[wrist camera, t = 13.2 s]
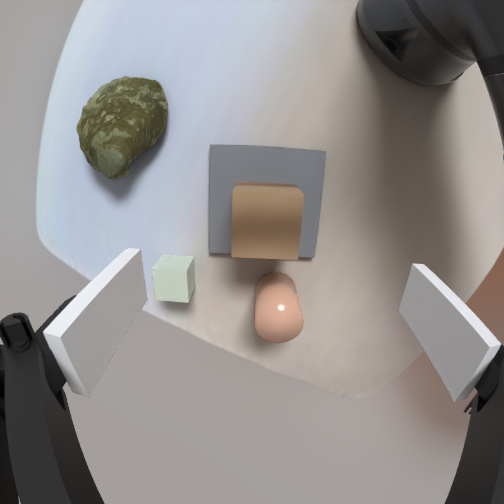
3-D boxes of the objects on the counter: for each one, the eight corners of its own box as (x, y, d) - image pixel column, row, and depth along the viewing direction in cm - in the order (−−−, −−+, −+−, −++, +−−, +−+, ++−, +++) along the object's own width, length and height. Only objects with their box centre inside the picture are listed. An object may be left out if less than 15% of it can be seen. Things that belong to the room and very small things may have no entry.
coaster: (211, 144, 28) (210, 144, 27) (323, 151, 28) (325, 151, 27) (210, 249, 32) (209, 252, 31) (312, 254, 32) (314, 257, 31)
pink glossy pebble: (256, 271, 33) (256, 303, 27) (298, 273, 33) (307, 305, 27) (254, 306, 35) (253, 342, 28) (293, 308, 35) (299, 343, 28)
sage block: (162, 254, 33) (151, 268, 29) (194, 256, 33) (186, 271, 29) (165, 283, 34) (155, 299, 30) (195, 285, 34) (188, 302, 30)
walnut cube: (237, 181, 28) (232, 190, 23) (295, 184, 28) (304, 194, 23) (236, 235, 31) (231, 257, 25) (290, 238, 30) (297, 260, 25)
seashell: (164, 65, 22) (134, 133, 19) (181, 111, 29) (163, 179, 26) (87, 86, 23) (51, 151, 20) (111, 123, 30) (86, 186, 27)
